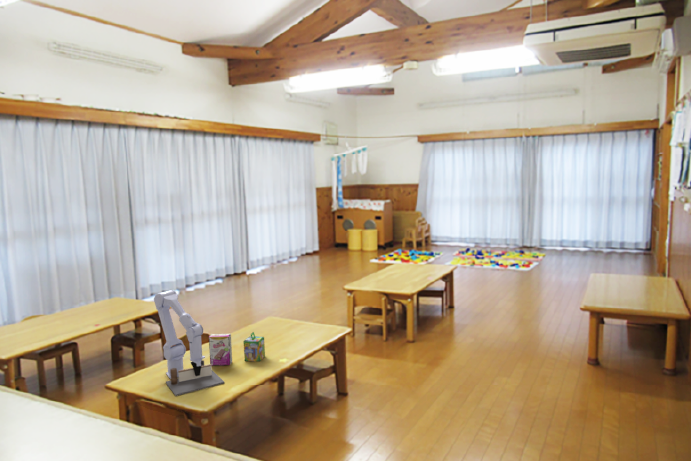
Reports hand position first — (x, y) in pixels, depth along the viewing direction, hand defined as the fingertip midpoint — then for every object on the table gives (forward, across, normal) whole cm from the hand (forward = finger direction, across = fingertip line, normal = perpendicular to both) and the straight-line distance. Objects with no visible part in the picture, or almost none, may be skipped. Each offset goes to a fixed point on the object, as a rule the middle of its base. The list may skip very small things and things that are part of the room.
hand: (197, 375), depth 237 cm
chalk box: (+3, +16, -34) cm, 37 cm away
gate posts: (+3, +3, +4) cm, 6 cm away
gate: (+2, +2, +1) cm, 3 cm away
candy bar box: (+3, +17, -15) cm, 23 cm away
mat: (+3, -2, +2) cm, 4 cm away
